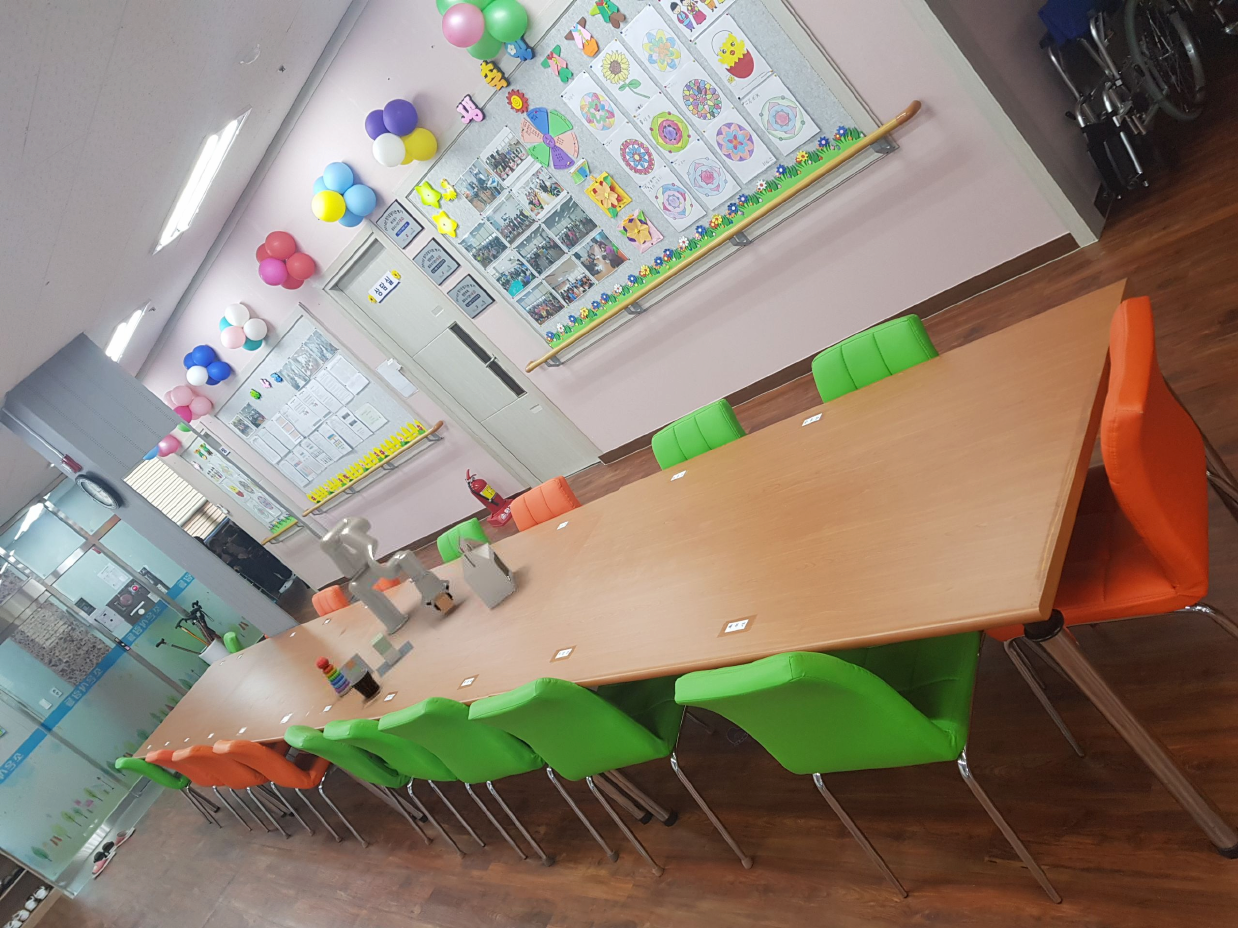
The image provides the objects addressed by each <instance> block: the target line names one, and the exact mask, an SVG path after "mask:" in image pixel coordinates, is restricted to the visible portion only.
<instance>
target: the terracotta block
mask: <svg viewBox="0 0 1238 928" xmlns="http://www.w3.org/2000/svg"><path fill="white" fill-rule="evenodd" d="M433 601H434V603H436V605H437V606H438V607H439V608H440V609H441V612H442V614H445V613H447V612H448V611H449V610H450V609H451V608H453V606H455V605H456V603H454V600H453V601H452V600H451V599H450V598H449V597H448V595H447V594H446V593H445V592H444V591H441V592H440V593H439V594H438V595H437V596H436V597H435V598H433Z"/></svg>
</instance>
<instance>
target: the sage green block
mask: <svg viewBox="0 0 1238 928" xmlns="http://www.w3.org/2000/svg"><path fill="white" fill-rule="evenodd" d="M369 643H370V645H371V647H372V648H374V650H375V651H376V652H377V653H378V655H380V657H382V655H383V654H384V653H385V652H386V651H388V650H389V649H390V648H391V647H392V646H394V645H393V644H392V643H391V641H390V640H389V639H388V638H387V637H386V636H385V635H384V633H382V632H381V631H380V632H379V633H378V634H377V635H376V636H374V637H373V638H372V639H371V640H370V641H369Z"/></svg>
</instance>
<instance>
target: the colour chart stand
mask: <svg viewBox="0 0 1238 928" xmlns="http://www.w3.org/2000/svg"><path fill="white" fill-rule="evenodd" d="M365 669H367V670H368V671H369V673H370V674H371V675H372V674H373V672H374V671H375V670H374V669H373V668H372V667H371V666H370V665H369V664H368V663H367V662H366V661H365V660H364V659H363V658H362V657H361V655H359V654H358V653H357V652H355V653H354V654H353V655H352V656H351V657H350V658H348V659H347V660H346V661H345V662H344V663H343V664H342V665H341V666H339V667H338V668H337V670H339V671H340V673H342V674H343V675H344V677H345V678H346V679H347V680H348V681H349V682H350V683H351V681H352V680H353V678H354V677H355V676H356V675H357V674H358V673H360V672H361V671H363V670H365Z"/></svg>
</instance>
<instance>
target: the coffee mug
mask: <svg viewBox="0 0 1238 928" xmlns="http://www.w3.org/2000/svg"><path fill="white" fill-rule="evenodd" d="M350 685H351V686H352V688H353V689H354V690H356V692H358V693H359V694H361V695H362V696H364V698H366V699H369V698H371V697H372V698H371V699H370V701H372V700H373V699H375V698H376V697H377V696H378V695H379V694H380V693H381V691H379V689H380V685H379V683H378V682H377V681H376V679H374V677H373V675H372V673H371V674H370V673H369V671H368V670H367V669H365V670H363V671H361V672H360V673H358V674H357V675H356V676H355V677H354V678H353V680H352V681H351V683H350ZM377 692H378V693H377Z"/></svg>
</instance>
